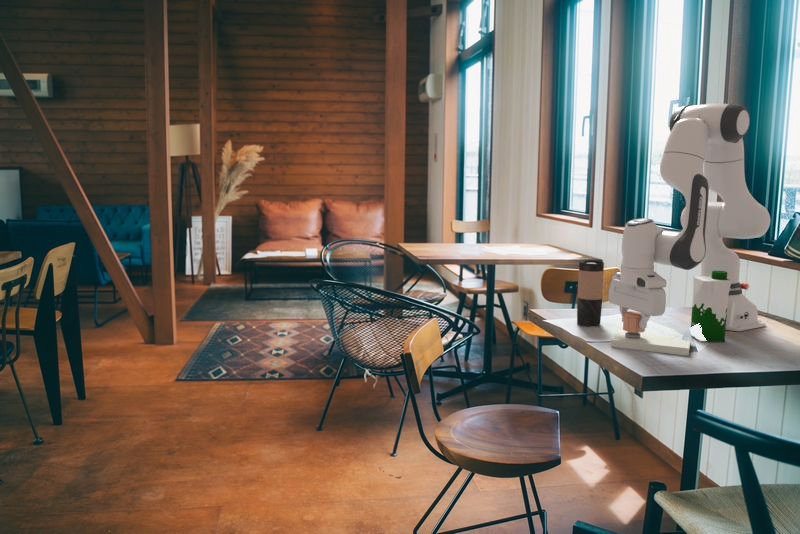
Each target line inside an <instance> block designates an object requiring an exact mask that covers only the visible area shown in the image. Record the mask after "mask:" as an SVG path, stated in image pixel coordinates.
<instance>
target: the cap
mask: <svg viewBox="0 0 800 534" xmlns="http://www.w3.org/2000/svg"><path fill="white" fill-rule="evenodd" d="M641 319H642V316H641V312H638V311H634V310H632V311H628V312H625V313H624V321H623V322H622V323H623V326H622V331H627V332H634V333H645V330H646V328H644V329H642V328H639V327H638V321H641Z"/></svg>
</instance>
